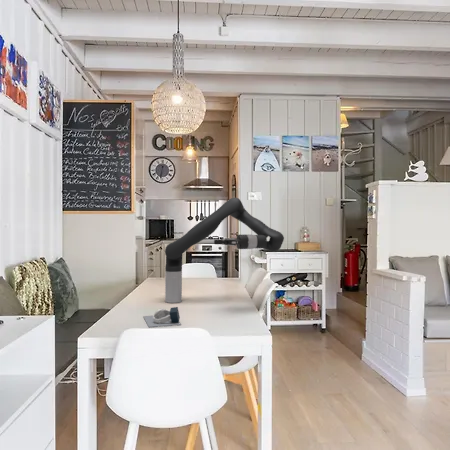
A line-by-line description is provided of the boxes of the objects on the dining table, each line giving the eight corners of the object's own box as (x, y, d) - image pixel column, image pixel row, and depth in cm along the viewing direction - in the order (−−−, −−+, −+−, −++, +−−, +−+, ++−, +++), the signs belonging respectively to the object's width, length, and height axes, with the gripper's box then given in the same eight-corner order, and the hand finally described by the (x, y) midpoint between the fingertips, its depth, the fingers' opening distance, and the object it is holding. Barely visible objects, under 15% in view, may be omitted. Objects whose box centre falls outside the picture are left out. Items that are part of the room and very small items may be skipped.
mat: (143, 316, 194) (143, 316, 194) (172, 315, 198) (172, 314, 198) (148, 327, 175) (148, 326, 175) (181, 325, 179) (181, 324, 179)
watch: (178, 304, 186) (154, 307, 187) (176, 313, 178) (151, 317, 179) (180, 315, 188) (156, 318, 188) (178, 325, 180) (153, 328, 181)
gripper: (242, 234, 218) (210, 234, 213) (251, 235, 205) (218, 235, 200) (242, 248, 218) (210, 248, 213) (251, 249, 206) (218, 250, 200)
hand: (214, 242), depth 206 cm, fingers closed
